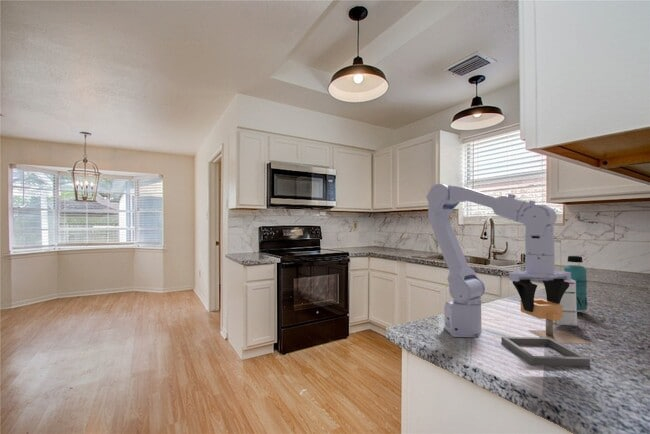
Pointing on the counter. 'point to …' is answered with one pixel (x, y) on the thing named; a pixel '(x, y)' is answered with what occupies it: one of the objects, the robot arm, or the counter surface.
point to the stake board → (558, 334)
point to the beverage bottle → (578, 281)
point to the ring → (545, 310)
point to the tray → (571, 360)
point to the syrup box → (569, 305)
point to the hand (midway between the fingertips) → (540, 310)
